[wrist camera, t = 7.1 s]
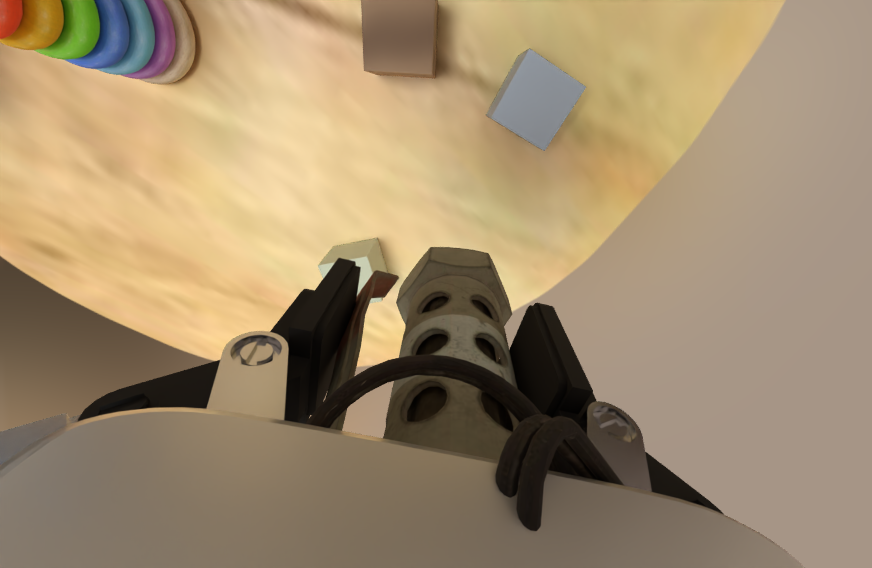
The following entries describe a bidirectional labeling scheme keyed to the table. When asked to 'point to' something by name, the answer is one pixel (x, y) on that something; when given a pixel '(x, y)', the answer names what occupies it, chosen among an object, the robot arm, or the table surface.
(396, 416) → the grenade model
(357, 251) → the sage cube
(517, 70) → the slate blue cube
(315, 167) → the table surface
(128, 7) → the stacking toy
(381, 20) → the walnut cube
